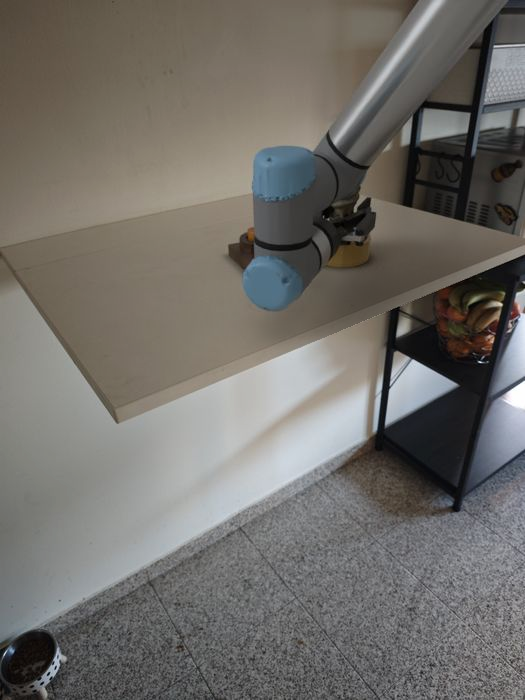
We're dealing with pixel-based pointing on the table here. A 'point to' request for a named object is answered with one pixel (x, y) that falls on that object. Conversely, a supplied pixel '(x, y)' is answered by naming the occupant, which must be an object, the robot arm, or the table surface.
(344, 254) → the lamp holder
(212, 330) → the table surface
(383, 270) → the table surface
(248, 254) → the switch box
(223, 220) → the table surface
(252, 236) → the lamp button
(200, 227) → the table surface
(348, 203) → the light bulb
